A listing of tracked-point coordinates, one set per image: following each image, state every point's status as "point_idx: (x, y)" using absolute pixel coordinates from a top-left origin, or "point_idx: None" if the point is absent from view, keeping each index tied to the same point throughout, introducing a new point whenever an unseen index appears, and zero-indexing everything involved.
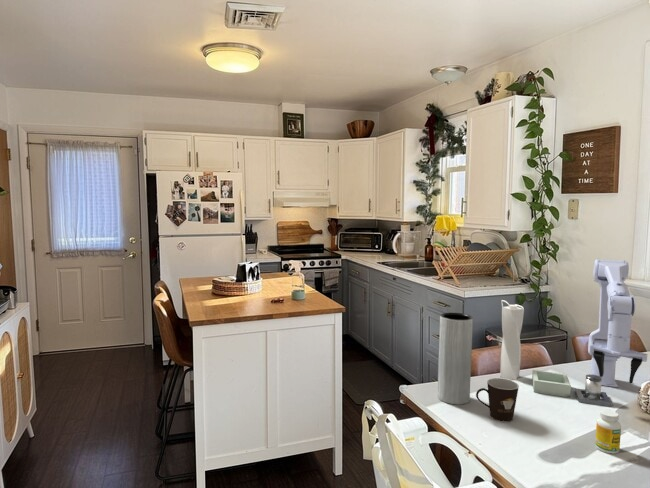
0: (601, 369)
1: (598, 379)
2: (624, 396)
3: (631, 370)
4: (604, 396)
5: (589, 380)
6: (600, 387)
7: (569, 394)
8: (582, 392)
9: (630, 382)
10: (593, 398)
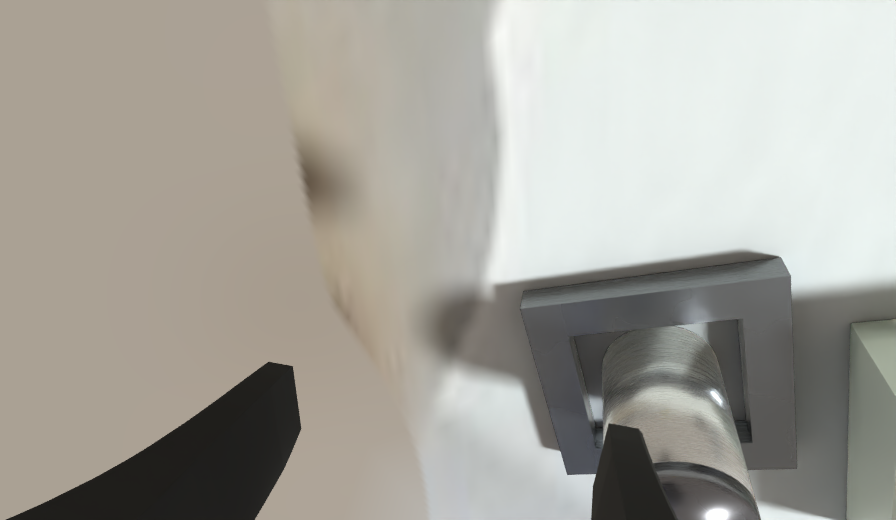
0: (631, 513)
1: None
2: (461, 485)
3: (150, 490)
4: (573, 406)
5: (724, 471)
6: None
7: (868, 338)
8: None
9: (275, 368)
10: (656, 341)
